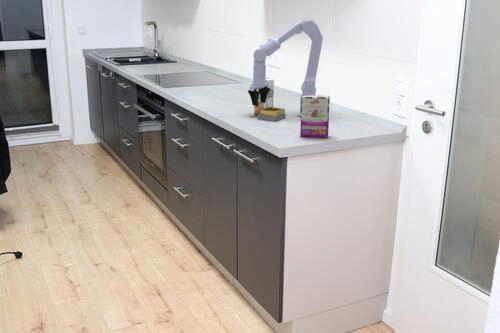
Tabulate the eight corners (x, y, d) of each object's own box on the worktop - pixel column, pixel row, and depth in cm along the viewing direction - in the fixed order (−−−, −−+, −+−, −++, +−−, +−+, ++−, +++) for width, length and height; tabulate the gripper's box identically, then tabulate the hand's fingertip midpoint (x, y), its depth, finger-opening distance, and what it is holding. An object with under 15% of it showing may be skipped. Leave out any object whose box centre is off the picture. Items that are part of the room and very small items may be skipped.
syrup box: (264, 105, 286) (264, 77, 282) (273, 107, 283) (274, 78, 278) (257, 107, 282) (257, 78, 278) (266, 109, 278) (267, 79, 274)
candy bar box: (328, 135, 229) (330, 95, 224) (327, 138, 224) (329, 97, 219) (300, 134, 231) (302, 94, 226) (299, 137, 226) (301, 96, 221)
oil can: (265, 114, 266) (265, 99, 264) (260, 116, 262) (261, 100, 260) (257, 113, 268) (257, 98, 266) (252, 115, 265) (252, 99, 262)
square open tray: (285, 117, 260) (285, 108, 258) (275, 121, 251) (275, 112, 250) (268, 115, 264) (268, 106, 263) (257, 119, 256) (257, 110, 255)
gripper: (259, 72, 268) (259, 100, 272) (243, 76, 256) (243, 105, 260) (272, 73, 264) (272, 102, 268) (257, 77, 252) (256, 107, 256)
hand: (258, 104), depth 264 cm, fingers open, 7 cm apart
